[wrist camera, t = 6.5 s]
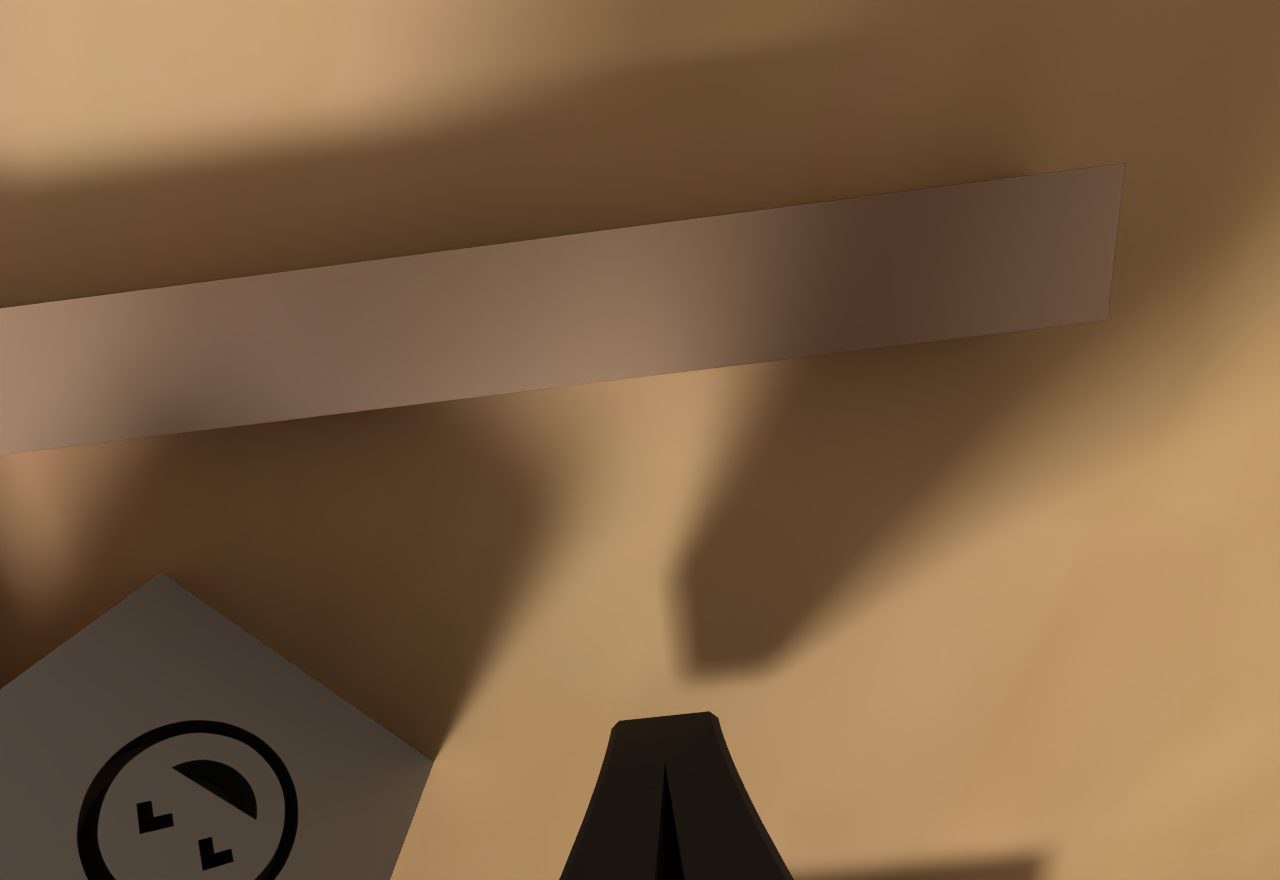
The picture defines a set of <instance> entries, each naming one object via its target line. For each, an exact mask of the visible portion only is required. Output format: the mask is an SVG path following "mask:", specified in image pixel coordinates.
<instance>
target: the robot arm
mask: <svg viewBox="0 0 1280 880" xmlns="http://www.w3.org/2000/svg"><path fill="white" fill-rule="evenodd" d="M559 880H794V879H793V877H792V875H791V874H790V872H789V870H788V869H787V867H786V865H785V863H784V861H783V859H782V858H781V856H780V854H779V852H778V850H777V848H776V847H775V845H774V843H773V841H772V839H771V838H770V836H769V834H768V832H767V830H766V828H765V827H764V825H763V823H762V821H761V819H760V817H759V815H758V813H757V811H756V809H755V807H754V805H753V803H752V801H751V799H750V797H749V795H748V793H747V791H746V789H745V787H744V785H743V782H742V780H741V778H740V776H739V774H738V772H737V769H736V767H735V765H734V762H733V760H732V758H731V755H730V753H729V750H728V747H727V745H726V742H725V739H724V736H723V733H722V730H721V727H720V723H719V719H718V717H716V716H715V715H714V714H712V713H711V712H699V713H690V714H680V715H671V716H661V717H652V718H642V719H633V720H623V721H619V722H618V723H617V724H616V725H615V726H614V727H613V728H612V730H611V735H610V739H609V743H608V747H607V751H606V754H605V758H604V761H603V764H602V768H601V771H600V774H599V777H598V780H597V783H596V786H595V789H594V792H593V795H592V797H591V800H590V803H589V806H588V809H587V811H586V814H585V817H584V820H583V822H582V825H581V827H580V830H579V832H578V835H577V837H576V840H575V842H574V845H573V847H572V850H571V852H570V855H569V857H568V860H567V862H566V865H565V867H564V870H563V872H562V875H561V877H560V879H559Z"/></svg>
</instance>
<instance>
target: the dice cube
mask: <svg viewBox="0 0 1280 880" xmlns="http://www.w3.org/2000/svg"><path fill="white" fill-rule="evenodd" d="M433 763H434V762H433V761H432V760H430V759H429V758H427V757H426V756H424V755H423V754H422V753H420V752H419V751H417V750H416V749H414V748H413V747H412V746H410V745H409V744H407V743H406V742H404V741H403V740H402V739H400V738H399V737H397V736H396V735H394V734H393V733H391V732H390V731H389V730H387V729H386V728H384V727H383V726H381V725H380V724H379V723H377V722H376V721H374V720H373V719H371V718H370V717H369V716H367V715H366V714H364V713H363V712H361V711H360V710H358V709H357V708H356V707H354V706H353V705H351V704H350V703H348V702H347V701H346V700H344V699H343V698H341V697H340V696H338V695H337V694H336V693H334V692H333V691H331V690H330V689H328V688H327V687H325V686H324V685H323V684H321V683H320V682H318V681H317V680H315V679H314V678H313V677H311V676H310V675H308V674H307V673H305V672H304V671H303V670H301V669H300V668H298V667H297V666H295V665H294V664H292V663H291V662H290V661H288V660H287V659H285V658H284V657H282V656H281V655H280V654H278V653H277V652H275V651H274V650H272V649H271V648H270V647H268V646H267V645H265V644H264V643H262V642H261V641H259V640H258V639H257V638H255V637H254V636H252V635H251V634H249V633H248V632H247V631H245V630H244V629H242V628H241V627H239V626H238V625H237V624H235V623H234V622H232V621H231V620H229V619H228V618H226V617H225V616H224V615H222V614H221V613H219V612H218V611H216V610H215V609H214V608H212V607H211V606H209V605H208V604H206V603H205V602H204V601H202V600H201V599H199V598H198V597H196V596H195V595H194V594H192V593H191V592H189V591H188V590H186V589H185V588H183V587H182V586H181V585H179V584H178V583H176V582H175V581H173V580H172V579H171V578H169V577H168V576H166V575H165V574H163V573H162V572H160V573H159V574H157V575H156V576H155V577H153V578H152V579H151V580H149V581H148V582H146V583H145V584H144V585H142V586H141V587H140V588H138V589H137V590H135V591H134V592H133V593H131V594H130V595H129V596H127V597H126V598H125V599H123V600H122V601H120V602H119V603H118V604H116V605H115V606H114V607H112V608H111V609H109V610H108V611H107V612H105V613H104V614H103V615H101V616H100V617H98V618H97V619H96V620H94V621H93V622H92V623H90V624H89V625H88V626H86V627H85V628H83V629H82V630H81V631H79V632H78V633H77V634H75V635H74V636H72V637H71V638H70V639H68V640H67V641H66V642H64V643H63V644H61V645H60V646H59V647H57V648H56V649H55V650H53V651H52V652H51V653H49V654H48V655H46V656H45V657H44V658H42V659H41V660H40V661H38V662H37V663H35V664H34V665H33V666H31V667H30V668H29V669H27V670H26V671H24V672H23V673H22V674H20V675H19V676H18V677H16V678H15V679H13V680H12V681H11V682H9V683H8V684H7V685H5V686H4V687H3V688H1V689H0V880H390V878H391V876H392V873H393V870H394V867H395V865H396V862H397V859H398V857H399V854H400V851H401V849H402V846H403V843H404V841H405V838H406V835H407V833H408V830H409V827H410V825H411V822H412V819H413V816H414V814H415V811H416V808H417V806H418V803H419V800H420V798H421V795H422V792H423V790H424V787H425V784H426V782H427V779H428V776H429V774H430V771H431V768H432V765H433Z"/></svg>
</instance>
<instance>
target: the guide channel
mask: <svg viewBox="0 0 1280 880" xmlns="http://www.w3.org/2000/svg"><path fill="white" fill-rule="evenodd" d="M1124 170H1125V163H1122V164H1114V165H1106V166H1098V167H1090V168H1083V169H1075V170H1067V171H1059V172H1051V173H1044V174H1036V175H1028V176H1020V177H1013V178H1005V179H997V180H989V181H982V182H974V183H966V184H958V185H951V186H943V187H935V188H927V189H920V190H912V191H904V192H896V193H889V194H881V195H873V196H866V197H858V198H850V199H842V200H835V201H827V202H819V203H811V204H804V205H796V206H788V207H780V208H773V209H765V210H757V211H749V212H742V213H734V214H726V215H719V216H711V217H703V218H695V219H688V220H680V221H672V222H664V223H657V224H649V225H641V226H633V227H626V228H618V229H610V230H602V231H595V232H587V233H579V234H572V235H564V236H556V237H548V238H541V239H533V240H525V241H517V242H510V243H502V244H494V245H486V246H479V247H471V248H463V249H455V250H448V251H440V252H432V253H425V254H417V255H409V256H401V257H394V258H386V259H378V260H370V261H363V262H355V263H347V264H339V265H332V266H324V267H316V268H308V269H301V270H293V271H285V272H278V273H270V274H262V275H254V276H247V277H239V278H231V279H223V280H216V281H208V282H200V283H192V284H185V285H177V286H169V287H162V288H154V289H146V290H138V291H131V292H123V293H115V294H107V295H100V296H92V297H84V298H76V299H69V300H61V301H53V302H45V303H38V304H30V305H22V306H15V307H7V308H0V455H4V454H13V453H21V452H29V451H37V450H46V449H54V448H62V447H70V446H78V445H87V444H95V443H103V442H111V441H120V440H128V439H136V438H144V437H152V436H161V435H169V434H177V433H185V432H193V431H202V430H210V429H218V428H226V427H235V426H243V425H251V424H259V423H267V422H276V421H284V420H292V419H300V418H308V417H317V416H325V415H333V414H341V413H350V412H358V411H366V410H374V409H382V408H391V407H399V406H407V405H415V404H423V403H432V402H440V401H448V400H456V399H465V398H473V397H481V396H489V395H497V394H506V393H514V392H522V391H530V390H538V389H547V388H555V387H563V386H571V385H580V384H588V383H596V382H604V381H612V380H621V379H629V378H637V377H645V376H654V375H662V374H670V373H678V372H686V371H695V370H703V369H711V368H719V367H727V366H736V365H744V364H752V363H760V362H769V361H777V360H785V359H793V358H801V357H810V356H818V355H826V354H834V353H842V352H851V351H859V350H867V349H875V348H884V347H892V346H900V345H908V344H916V343H925V342H933V341H941V340H949V339H958V338H966V337H974V336H982V335H990V334H999V333H1007V332H1015V331H1023V330H1031V329H1040V328H1048V327H1056V326H1064V325H1073V324H1081V323H1089V322H1097V321H1105V320H1107V319H1108V310H1109V301H1110V293H1111V284H1112V275H1113V266H1114V258H1115V249H1116V240H1117V231H1118V222H1119V214H1120V205H1121V196H1122V187H1123V179H1124Z"/></svg>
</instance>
